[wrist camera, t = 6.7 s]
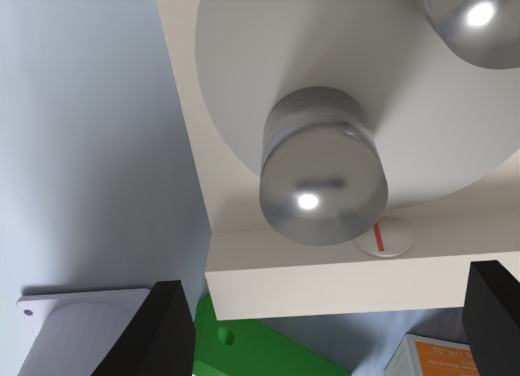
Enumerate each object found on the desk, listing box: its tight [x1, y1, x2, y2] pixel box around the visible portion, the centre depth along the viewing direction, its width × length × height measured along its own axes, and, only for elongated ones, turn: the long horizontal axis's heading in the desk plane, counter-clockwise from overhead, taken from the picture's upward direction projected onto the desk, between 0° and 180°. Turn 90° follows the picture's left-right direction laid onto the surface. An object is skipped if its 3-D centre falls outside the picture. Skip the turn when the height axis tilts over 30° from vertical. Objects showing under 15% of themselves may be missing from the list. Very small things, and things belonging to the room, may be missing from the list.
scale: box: [156, 0, 520, 320], centre depth 18 cm, size 17×15×4 cm
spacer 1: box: [259, 86, 388, 246], centre depth 17 cm, size 4×4×4 cm
